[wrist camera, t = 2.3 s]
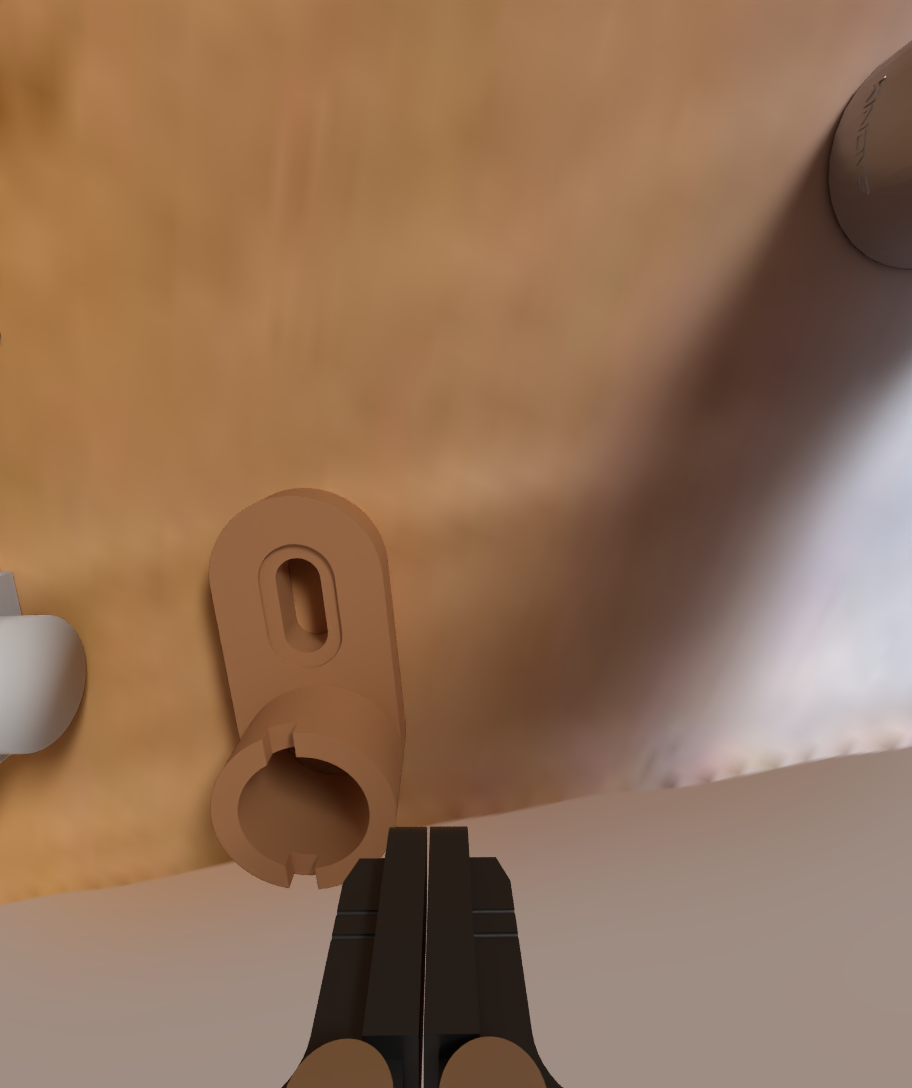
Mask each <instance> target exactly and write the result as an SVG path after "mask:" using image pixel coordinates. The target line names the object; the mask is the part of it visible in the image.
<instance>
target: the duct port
mask: <svg viewBox="0 0 912 1088" xmlns="http://www.w3.org/2000/svg"><path fill="white" fill-rule="evenodd" d="M85 680H86V659H85V653H84V649H83V645H82V642H81V640H80V638H79V636H78V634H77V632H76V631H75V629H74V628H73V627H72V626H71V625H70V624H69V623H68V622H66V621H65V620H63V619H61V618H60V617H56V616H52V615H26V616H22V615H21V610H20V606H19V601H18V597H17V592H16V588H15V583H14V579H13V574H12V572H0V763H1V762H2V761H4V760H5V759H6V758H7V757H9V756H10V755H11V754H30V753H35V752H38V751H40V750H43V749H45V748H46V747H48V746H50V745H51V744H52V743H54V742H55V741H56V740H57V739H58V738H59V737H60V736H61V735H62V734H63V733H64V731H65V730H66V729H67V727H68V726H69V725H70V723H71V721H72V720H73V718H74V716H75V714H76V712H77V710H78V707H79V705H80V702H81V699H82V696H83V692H84V687H85Z"/></svg>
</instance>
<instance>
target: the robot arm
mask: <svg viewBox="0 0 912 1088" xmlns="http://www.w3.org/2000/svg"><path fill="white" fill-rule="evenodd" d="M829 188H830V194H831V201H832V206H833V209H834V211H835V214H836V217H837V219H838V222H839V225H840V227H841V228H842V229H843V231H844V232H845V234H846V235H847V237H848V238H849V240H850V241H851V243H852V244H853V245H855V246H856V247H857V248H858V249H859V250H860V251H861V252H862V253H864V254H865V255H866V256H868V257H870V258H872V259H873V260H875V261H877V262H879V263H881V264H883V265H888V266H892V267H897V268H901V269H912V41H911V42H909V43H908V44H907V45H905V46H904V47H903V48H902V49H900V50H899V51H898V52H897V53H895V54H894V55H893V56H891V57H890V58H889V59H888V60H886V61H885V62H884V63H883V64H881V65H880V66H879V67H877V68H876V69H875V70H874V72H873V73H872V74H871V75H870V76H869V77H868V78H867V79H866V80H865V82H864V83H863V84H862V85H861V86H860V87H859V88H858V90H857V92H856V93H855V95H854V96H853V98H852V100H851V101H850V103H849V104H848V106H847V108H846V109H845V111H844V114H843V116H842V118H841V121H840V123H839V126H838V128H837V131H836V133H835V137H834V141H833V146H832V150H831V155H830V162H829ZM429 847H430V848H429V880H428V912H427V827H390V828H389V831H388V839H387V847H386V854H385V858H359V860H358V861H357V863H356V864H355V866H354V867H353V869H352V870H351V872H350V873H349V874H348V876H347V877H346V879H345V880H344V882H343V886H342V890H341V895H340V900H339V904H338V909H337V916H336V919H335V924H334V929H333V933H332V941H331V942H330V948H329V952H328V957H327V961H326V966H325V971H324V976H323V980H322V985H321V990H320V995H319V999H318V1004H317V1009H316V1014H315V1018H314V1023H313V1028H312V1033H311V1037H310V1041H309V1044H308V1047H307V1050H306V1052H305V1055H304V1057H303V1059H302V1061H301V1062H300V1064H299V1066H298V1068H297V1069H296V1071H295V1072H294V1073H293V1075H292V1076H291V1078H290V1079H289V1080H288V1082H286V1084H284V1086H283V1087H282V1088H421V1079H422V1077H421V1076H422V1048H423V1015H424V1088H563V1087H561V1086H560V1085H559V1084H558V1083H557V1082H556V1081H555V1080H554V1078H553V1077H552V1076H551V1075H550V1073H549V1072H548V1070H547V1069H546V1067H545V1066H544V1064H543V1063H542V1061H541V1059H540V1057H539V1055H538V1052H537V1049H536V1046H535V1044H534V1039H533V1035H532V1029H531V1022H530V1016H529V1008H528V1001H527V994H526V987H525V981H524V973H523V966H522V959H521V952H520V945H519V939H518V931H517V925H516V918H515V913H514V903H513V896H512V889H511V882H510V879H509V878H508V876H507V875H506V873H505V871H504V870H503V868H502V867H501V865H500V863H499V862H498V860H497V859H496V857H479V858H478V857H473V858H471V857H469V843H468V828H467V827H430V846H429ZM427 913H428V914H427ZM426 919H427V944H426ZM425 954H426V977H425ZM425 978H426V979H425ZM424 984H425V1010H424ZM424 1011H425V1012H424Z"/></svg>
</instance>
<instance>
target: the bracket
mask: <svg viewBox="0 0 912 1088" xmlns="http://www.w3.org/2000/svg"><path fill="white" fill-rule="evenodd" d="M292 558H301V559H305V560H307V561H309V562H311V563H312V564H313V565H314V566H315V567H316V568H317V570H318V572H319V574H320V579H321V586H322V593H323V600H324V607H325V614H326V621H327V628H328V632H326V633H323V634H311V633H309V632H307V631H305V630H304V629H302V628H301V626H300V625H299V623H298V621H297V618H296V612H295V606H294V599H293V593H292V586H291V580H290V574H289V567H288V564H289V559H292ZM209 581H210V588H211V593H212V599H213V604H214V609H215V614H216V619H217V624H218V630H219V635H220V640H221V645H222V650H223V655H224V661H225V666H226V671H227V676H228V681H229V686H230V691H231V697H232V702H233V707H234V712H235V717H236V722H237V728H238V733H239V738H240V742H239V743H238V745H237V747H236V748H235V750H234V752H233V753H232V755H231V756H230V758H229V760H228V761H227V763H226V765H225V766H224V768H223V770H222V771H221V773H220V774H219V776H218V778H217V780H216V783H215V785H214V788H213V792H212V797H211V819H212V824H213V827H214V830H215V833H216V836H217V838H218V840H219V842H220V843H221V845H222V847H223V848H224V850H225V851H226V852H227V853H228V855H229V856H230V857H231V858H232V859H233V860H234V861H235V862H236V863H237V864H238V865H239V866H241V867H242V868H243V869H244V870H246V871H247V872H249V873H250V874H252V875H254V876H255V877H258V878H259V879H261V880H263V881H266V882H268V883H271V884H274V885H277V886H281V887H285V888H289V887H290V884H291V881H292V878H293V875H294V874H300V875H316V877H317V884H318V888H319V889H322V888H330V887H334V886H338V885H341V884H343V882H344V880H345V879H346V877H347V876H348V874H349V873H350V872H351V870H352V869H353V867H354V866H355V864H356V863H357V861H358V860H359V858H381V857H382V855H383V854H384V853H385V851H386V847H387V839H388V831H389V828H390V827H395V824H396V816H397V808H398V799H399V790H400V781H401V772H402V764H403V755H404V746H405V737H406V723H405V713H404V704H403V695H402V686H401V677H400V668H399V659H398V649H397V640H396V631H395V622H394V613H393V604H392V595H391V585H390V576H389V567H388V559H387V553H386V549H385V545H384V543H383V540H382V538H381V535H380V534H379V532H378V530H377V528H376V527H375V525H374V524H373V522H372V521H371V520H370V519H369V517H368V516H367V515H366V514H365V513H364V512H363V511H362V510H361V509H360V508H358V507H357V506H356V505H354V504H353V503H351V502H350V501H348V500H347V499H345V498H343V497H341V496H339V495H336V494H334V493H331V492H328V491H324V490H319V489H312V488H298V489H290V490H285V491H281V492H278V493H275V494H273V495H271V496H269V497H267V498H265V499H263V500H261V501H259V502H257V503H255V504H253V505H251V506H249V507H247V508H246V509H244V510H242V511H241V512H240V513H238V514H237V515H236V516H235V517H234V518H233V519H232V520H230V521H229V523H228V524H227V525H226V526H225V527H224V529H223V530H222V532H221V533H220V535H219V537H218V539H217V541H216V543H215V545H214V548H213V551H212V554H211V559H210V566H209ZM290 747H295V752H296V757H308V758H315V759H319V760H323V761H326V762H329V763H331V764H334V765H336V766H338V767H339V768H341V769H343V770H344V771H345V772H347V773H346V774H337V775H333V774H324V773H320V772H316V771H313V770H311V769H309V768H307V767H305V766H304V765H302V764H301V763H299V762H298V761H297V760H296V759H295V758H294V757H293V756H292V755H291V754H290V752H289V751H288V749H287V748H290Z"/></svg>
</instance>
